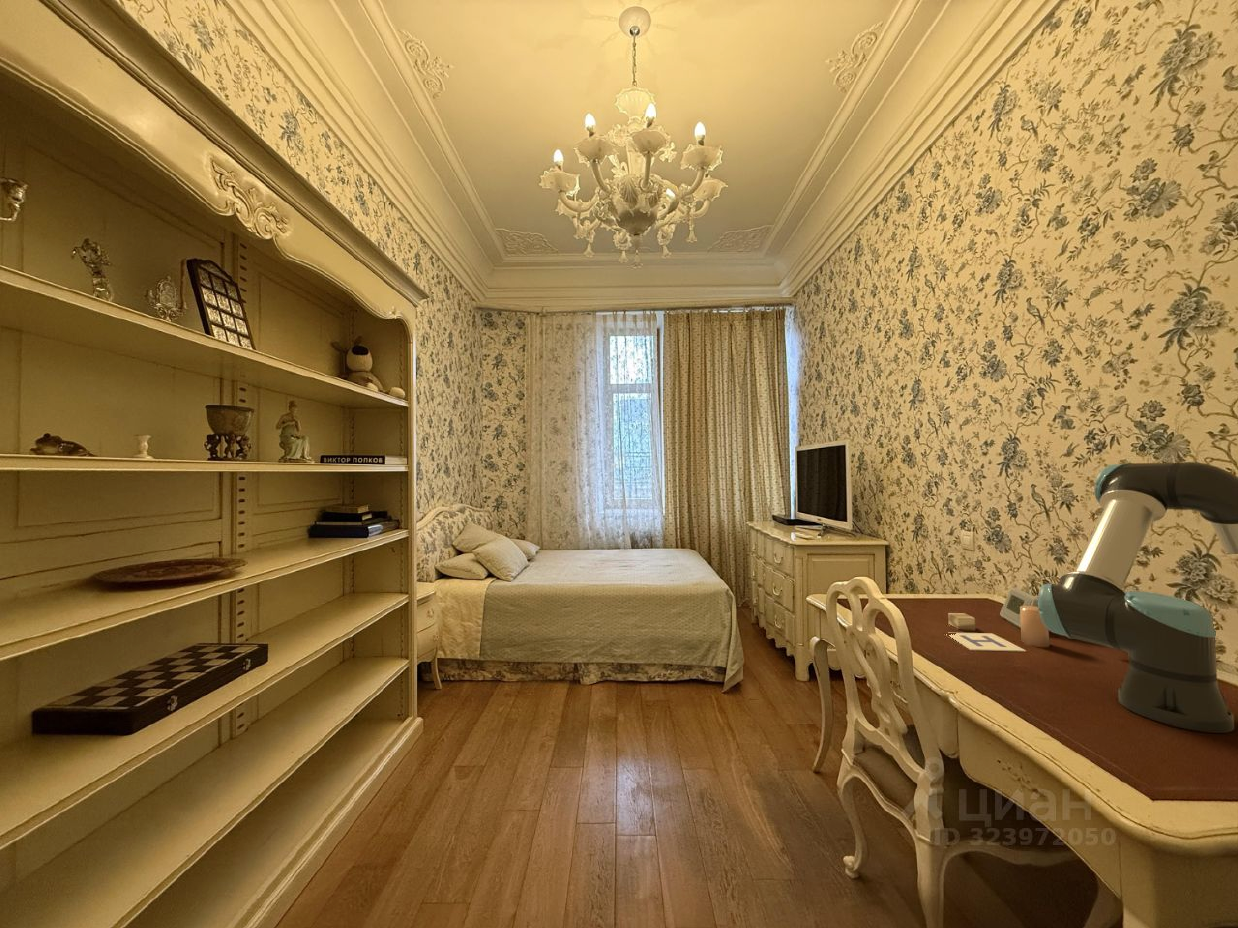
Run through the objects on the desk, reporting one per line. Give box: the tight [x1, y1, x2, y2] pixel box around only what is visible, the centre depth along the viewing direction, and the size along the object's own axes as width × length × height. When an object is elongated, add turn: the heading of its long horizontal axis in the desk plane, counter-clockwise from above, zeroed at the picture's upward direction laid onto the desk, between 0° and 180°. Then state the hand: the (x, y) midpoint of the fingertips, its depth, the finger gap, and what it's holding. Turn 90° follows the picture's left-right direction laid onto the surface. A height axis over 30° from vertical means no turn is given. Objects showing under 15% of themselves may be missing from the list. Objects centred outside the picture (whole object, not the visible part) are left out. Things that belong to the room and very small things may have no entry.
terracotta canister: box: [1020, 606, 1050, 648], centre depth 134 cm, size 6×6×10 cm
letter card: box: [945, 632, 1027, 653], centre depth 136 cm, size 14×14×1 cm
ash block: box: [947, 612, 976, 631], centre depth 149 cm, size 5×5×4 cm
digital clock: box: [999, 587, 1038, 630], centre depth 150 cm, size 16×9×11 cm, turn 151°
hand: (1071, 622), depth 133 cm, fingers open, 13 cm apart
